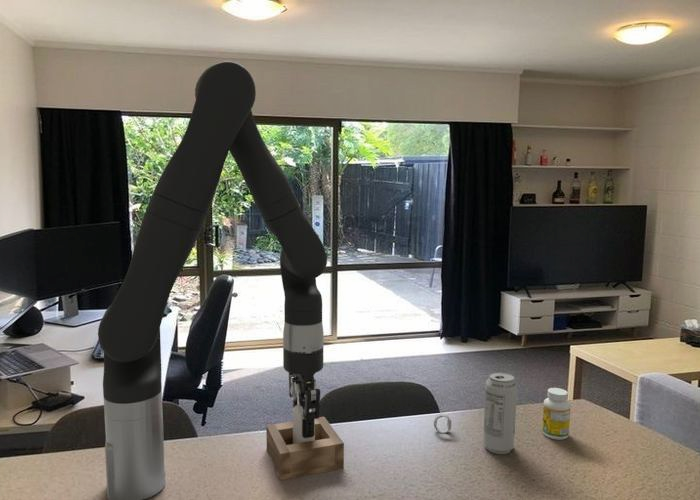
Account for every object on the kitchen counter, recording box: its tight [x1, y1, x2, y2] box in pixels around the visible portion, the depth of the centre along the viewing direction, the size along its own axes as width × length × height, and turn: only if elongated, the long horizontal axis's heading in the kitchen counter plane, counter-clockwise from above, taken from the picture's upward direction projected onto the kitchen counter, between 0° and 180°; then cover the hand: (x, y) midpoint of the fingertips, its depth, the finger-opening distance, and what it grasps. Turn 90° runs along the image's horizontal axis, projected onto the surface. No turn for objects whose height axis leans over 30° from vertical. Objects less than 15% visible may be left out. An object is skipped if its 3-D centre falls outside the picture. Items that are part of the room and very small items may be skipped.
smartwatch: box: [433, 413, 452, 434], centre depth 118 cm, size 4×2×4 cm, turn 87°
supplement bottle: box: [541, 387, 572, 441], centre depth 117 cm, size 5×5×10 cm
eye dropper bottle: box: [292, 399, 315, 444], centre depth 106 cm, size 4×6×12 cm
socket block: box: [265, 416, 345, 481], centre depth 107 cm, size 12×12×5 cm
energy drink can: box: [482, 371, 518, 455], centre depth 111 cm, size 6×6×15 cm
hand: (303, 429), depth 106 cm, fingers open, 6 cm apart
